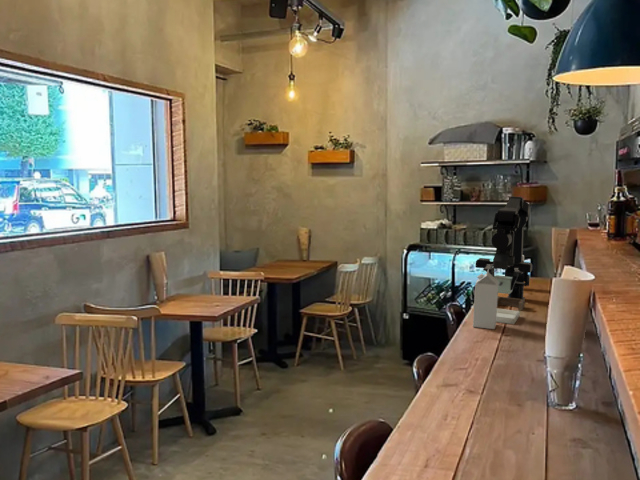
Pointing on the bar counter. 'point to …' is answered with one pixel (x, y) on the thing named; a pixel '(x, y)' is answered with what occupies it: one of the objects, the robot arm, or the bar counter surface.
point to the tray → (507, 316)
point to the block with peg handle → (504, 284)
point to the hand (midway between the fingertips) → (502, 289)
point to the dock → (511, 302)
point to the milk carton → (485, 301)
